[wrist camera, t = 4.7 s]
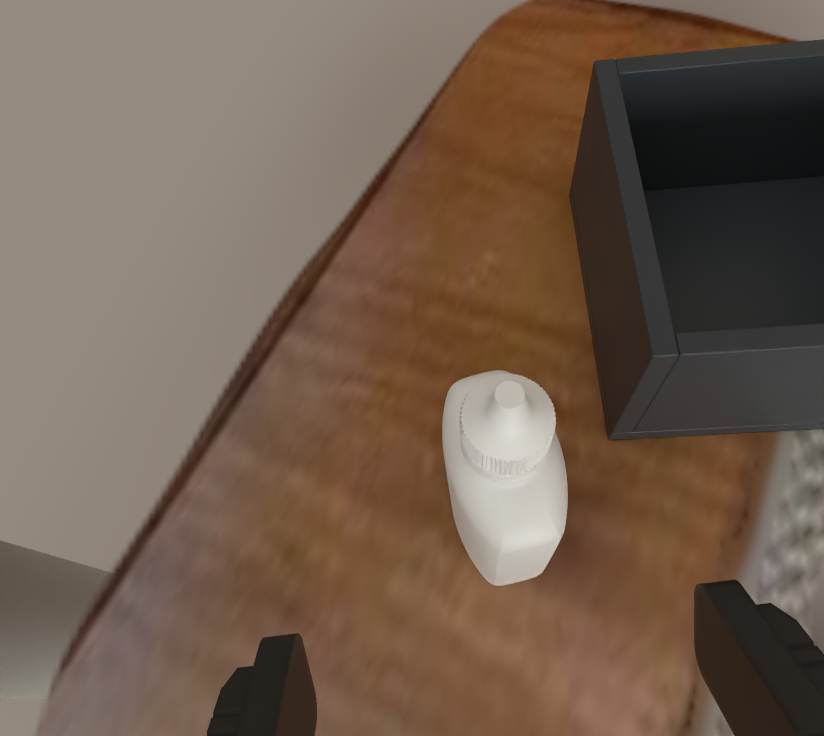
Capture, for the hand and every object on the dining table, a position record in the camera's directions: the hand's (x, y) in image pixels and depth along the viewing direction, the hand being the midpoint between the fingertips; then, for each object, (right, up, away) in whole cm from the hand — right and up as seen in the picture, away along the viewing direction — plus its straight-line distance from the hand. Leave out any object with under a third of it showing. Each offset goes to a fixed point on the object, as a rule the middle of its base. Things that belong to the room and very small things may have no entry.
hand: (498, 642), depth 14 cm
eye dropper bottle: (+2, 0, +13) cm, 13 cm away
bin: (+12, +9, +16) cm, 22 cm away
